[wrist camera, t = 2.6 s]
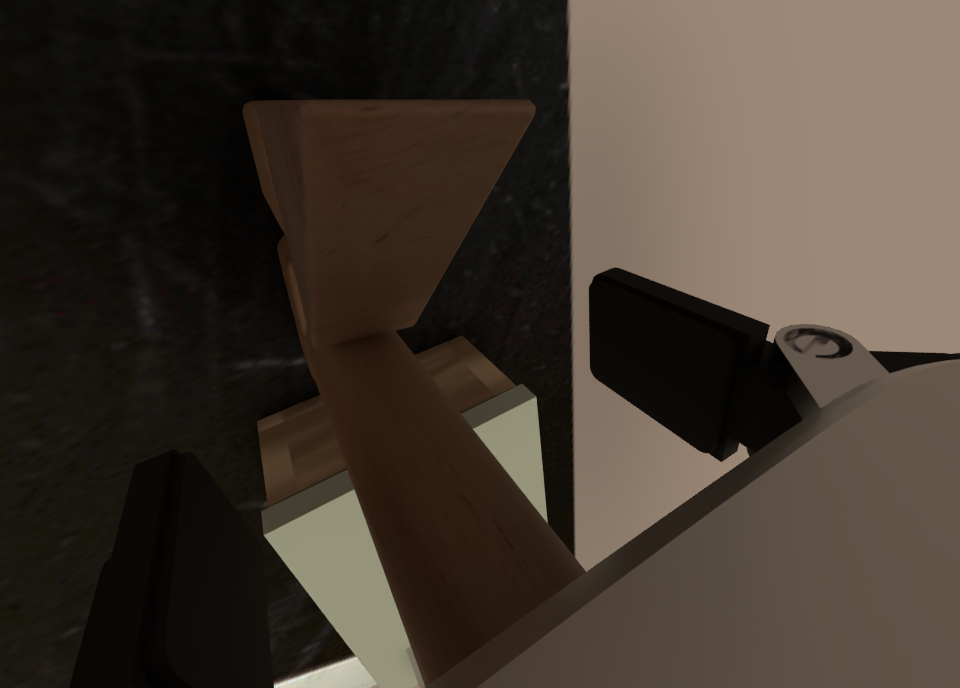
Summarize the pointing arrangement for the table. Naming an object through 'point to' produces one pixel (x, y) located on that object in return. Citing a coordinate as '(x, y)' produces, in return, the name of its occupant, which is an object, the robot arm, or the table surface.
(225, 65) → the table surface
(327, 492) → the lid
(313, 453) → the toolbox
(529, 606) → the wooden pieces
